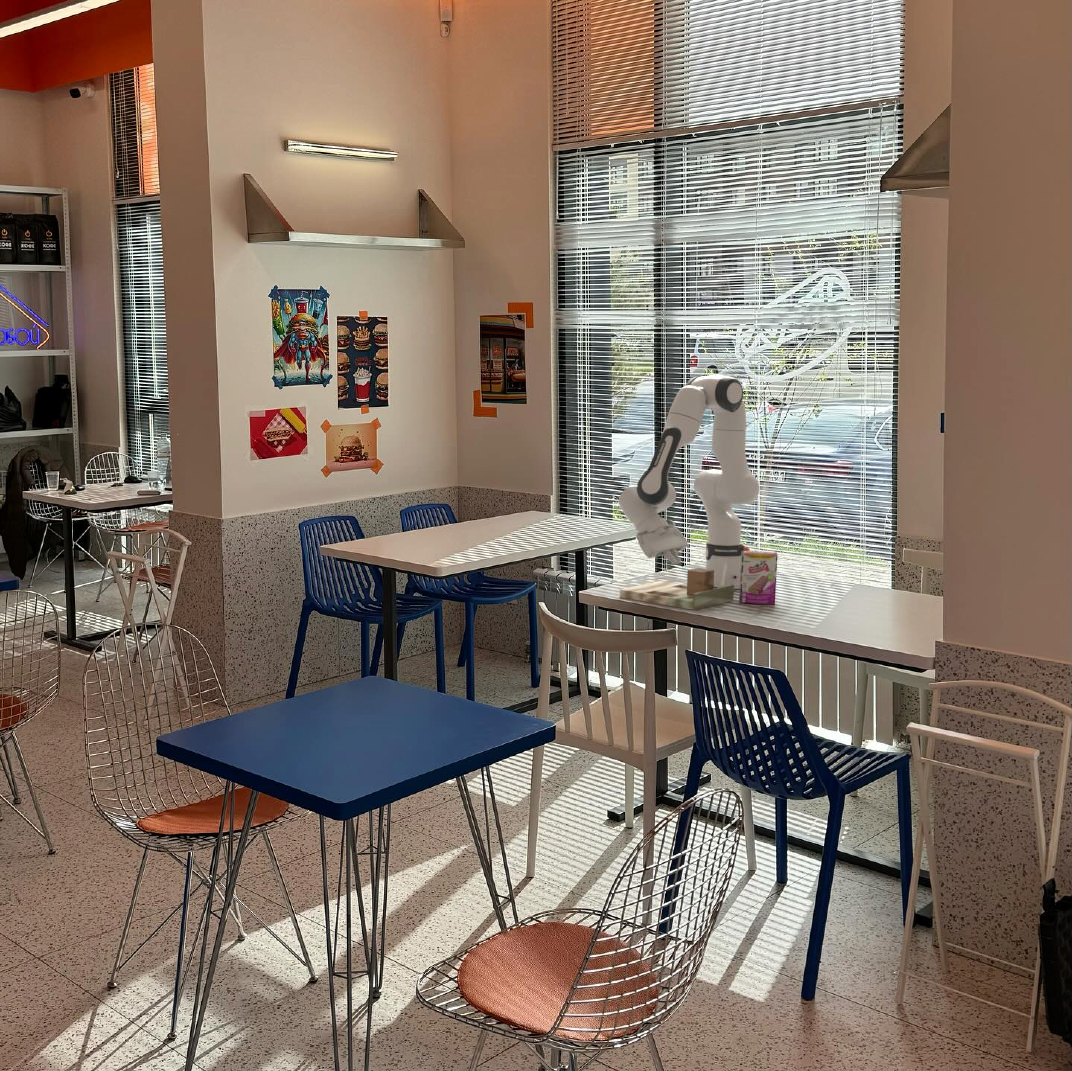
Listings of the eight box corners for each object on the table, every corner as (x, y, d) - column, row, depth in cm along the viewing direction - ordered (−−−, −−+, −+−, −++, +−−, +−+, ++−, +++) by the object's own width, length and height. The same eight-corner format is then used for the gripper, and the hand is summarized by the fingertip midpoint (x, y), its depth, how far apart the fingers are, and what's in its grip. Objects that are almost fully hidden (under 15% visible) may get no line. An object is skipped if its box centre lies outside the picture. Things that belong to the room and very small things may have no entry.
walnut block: (697, 592, 398) (698, 567, 397) (713, 595, 394) (714, 570, 393) (686, 594, 394) (687, 570, 393) (702, 597, 390) (703, 572, 389)
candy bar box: (739, 604, 394) (741, 552, 391) (738, 601, 399) (740, 550, 396) (775, 605, 393) (778, 553, 390) (774, 602, 397) (776, 551, 395)
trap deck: (619, 597, 402) (620, 581, 401) (659, 588, 418) (659, 573, 417) (695, 610, 383) (696, 594, 382) (733, 600, 399) (734, 584, 399)
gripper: (639, 527, 395) (664, 561, 390) (676, 520, 410) (700, 552, 405) (628, 539, 398) (652, 573, 393) (664, 532, 413) (688, 564, 409)
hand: (677, 562), depth 399 cm, fingers closed
